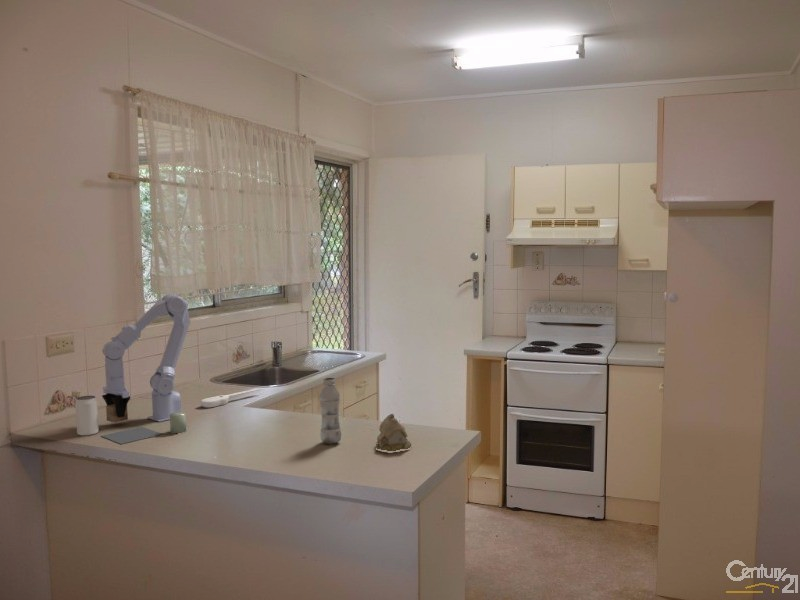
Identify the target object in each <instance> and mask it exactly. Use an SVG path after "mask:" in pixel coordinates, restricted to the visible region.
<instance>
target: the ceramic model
mask: <svg viewBox="0 0 800 600" xmlns="http://www.w3.org/2000/svg"><path fill="white" fill-rule="evenodd" d="M378 428H379V429H378V430H379V431H380V433H379V434H378V436H377V437H376V440H377V441H376V445H375V449H376V448H377V449H381V450H387V451H396V450H400V449H408V448H410V447H411V445H412V442H411V441H409V440H408V433H407V431H406V429H405V426H404V425H402V424H401V423H400V422H399V421H398V420H397V418H395V415H394V413H390V414H388V415H387V416H386V417H385V418H384V419H383V421H381V424H380V425H379V427H378ZM377 443H378V444H377ZM412 446H413V445H412Z"/></svg>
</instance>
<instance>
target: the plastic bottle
mask: <svg viewBox="0 0 800 600" xmlns="http://www.w3.org/2000/svg"><path fill="white" fill-rule="evenodd" d="M336 383H337V382H336V378H335V377H325V378H323V384H322V385H323V387H322V389H321V391H320V393H319V403H320V409H321V413H320V414H321V425H320V426H321V428H320V434H319V436H320V440H321V442H322V443H323V442H324V443H323V444H326V443H329V444H328V445H331V444H332V443H333V444H337V443H339V442H341V439H342V430H341V426H340V424H341V423H340V403H341V393H340V391H339V390H338V389H337V387H336V386H337V384H336ZM333 444H332V445H333Z"/></svg>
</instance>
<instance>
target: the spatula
mask: <svg viewBox="0 0 800 600" xmlns="http://www.w3.org/2000/svg"><path fill="white" fill-rule="evenodd" d="M261 390H263V388H262V387H256V388H253V389H252V388H251V389H248V390H244V391H239V392H234V393H230V394H226V395H225V394H224V395H223V394H222V395H217V396H211V397H207V398H202V399H201V400H200V406H201V407H202V408H205V409H207V408H215V407H218V406H223V405H228V404H229V398H231V397H233V396H237V395H243V394H247V393H252V392H256V391H257V392H258V391H261Z"/></svg>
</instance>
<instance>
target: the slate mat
mask: <svg viewBox="0 0 800 600" xmlns="http://www.w3.org/2000/svg"><path fill="white" fill-rule="evenodd" d="M161 434H163V433H161V432H158V431H155V430H152V429H150V428H146V427H143V426H138V427H134V428H131V429H124V430H119V431H116V432H111V433H107V434H103V435H100V437H102V438H104V439H106V440H109V441H112V442H114V443H116V444H119V445H125V444H128V443H133V441H134V442H138V441H142V440H145V438H146V439H150V438H153V436H154V437H157V435H159V436H162V435H161ZM149 437H150V438H149ZM141 439H142V440H141ZM137 440H138V441H137Z"/></svg>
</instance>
